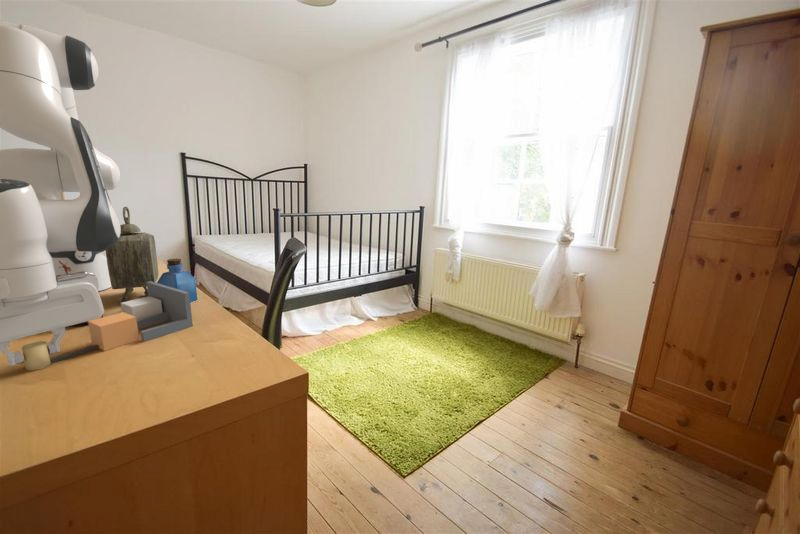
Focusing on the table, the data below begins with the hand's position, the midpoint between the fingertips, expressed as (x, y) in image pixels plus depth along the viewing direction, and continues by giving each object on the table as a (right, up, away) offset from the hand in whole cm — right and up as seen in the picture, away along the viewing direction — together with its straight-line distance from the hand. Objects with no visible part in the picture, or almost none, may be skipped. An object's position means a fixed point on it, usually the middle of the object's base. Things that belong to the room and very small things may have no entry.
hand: (35, 358), depth 61 cm
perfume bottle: (+3, +6, +34) cm, 35 cm away
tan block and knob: (+3, 0, +6) cm, 7 cm away
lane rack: (+6, +2, +19) cm, 20 cm away
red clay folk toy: (-9, +3, +20) cm, 22 cm away
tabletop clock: (-10, +7, +38) cm, 40 cm away
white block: (+3, +3, +21) cm, 22 cm away
